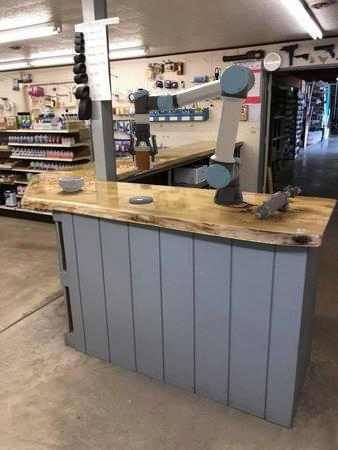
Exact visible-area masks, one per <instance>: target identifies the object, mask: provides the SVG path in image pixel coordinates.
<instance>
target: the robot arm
mask: <svg viewBox="0 0 338 450" xmlns="http://www.w3.org/2000/svg"><path fill="white" fill-rule="evenodd" d="M219 77H220V78H219V79H218V80H214V81H211V82H208V83H204V84H201V85H199V86H198V85H197V86H195V87H191V88H188V89H184V90H181V91H178V92H175V93H172V94H167V93H160V94H158V93H157V94H150V92H149V90H135V91H134V93H133V104H134V107H133V108H134V122H135V124H134V130H135V132H134V134H133V133H132V134H129V138H130V140H129V150H128V154H129V155H132V162H134V169H138V165H137V159H136V153H135V146H136V147H138V146H139V145H141V143H145V145H147V147H150V146H152V147H150V154H151V156H150V169H149V170H151V169H154V162H155V161H156V160H155V159H156V157H155V156H156V155H158V154H159V151H158V146H157V145H158V143H157V140H156V139H157V135H156V134H151V123H150V118H151V117H150V111H154V112H155V111H156V112H157V111H160V112H161V111H162V112H164V111H165V112H167V111H177V110H178V109H181V108H185V107H187V106H188V107H189V106H190V105H195V104H198V103H202V102H206V101H209V100H214V99H216V98H221V99H222V101H223V102H222V105H221V106H222V107H221V113H220V120H219V126H218V131H217V137H216V143H215V144H216V145H215V150H214V153H213V155H212V156H210V161H209V166H208V167H206V168H207V169H206V170H205V173H204V175H205V176H204V177H205V180H206V182H207V184H208V185H209V186H210V187H212V188H214V189H216V190H215V193H214V196H213V203H215V204H218V205H224V206H232V205H240V204H243V203H244V195H243V192H242V188H241V178H242V177H241V173H242V169H241V168H242V159H241V158H240V157H234V154H235V153H234V152H235V148H236V147H235V146H236V141H237V135H238V130H239V126H240V125H239V124H240V119H241V114H242V108H243V104H244V103H245V102H246V101H247V100H248V95H249V92H251V91H252V89H253V88H254V86H255V83H256V76H255V73H254V71H253V70H252V69H251V68H249V67H247V66H244V65H242V64H231V65H228V66H227V67H226V68H224V69H223V71H222V72H221V75H220V76H219ZM135 139H136V141H135ZM150 139H151V140H150ZM151 142H152V144H151Z"/></svg>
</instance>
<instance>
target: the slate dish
mask: <svg viewBox="0 0 338 450" xmlns="http://www.w3.org/2000/svg"><path fill="white" fill-rule="evenodd" d="M153 201H154V198H153V197H152V196H148V195H144V196H143V195H141V196H140V195H138V196H133V197H130V198H129V199H128V202H129V203H130V204H132V205H133V204H134V205H142V204H143V205H144V204H151V203H152V202H153Z"/></svg>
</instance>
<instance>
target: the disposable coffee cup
mask: <svg viewBox="0 0 338 450" xmlns="http://www.w3.org/2000/svg"><path fill="white" fill-rule="evenodd" d="M134 147H135V153H136V159H137V165H138V167H137V169H138V171H148V170H151V169H150V156H151V154H150V147H152V148H153V145H151V146H150V147H147V144H143V145H142V144H140V145H139V146H138V147H136V146H135V145H134Z"/></svg>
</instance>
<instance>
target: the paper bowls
mask: <svg viewBox="0 0 338 450" xmlns="http://www.w3.org/2000/svg"><path fill="white" fill-rule="evenodd" d="M58 185H59V188H61V189H62V190H63V191H64V192H66V193H75V192H80V191H81V189H82V187H84V186H85V179H84V177H83V176H65V177H60V178H58Z"/></svg>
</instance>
